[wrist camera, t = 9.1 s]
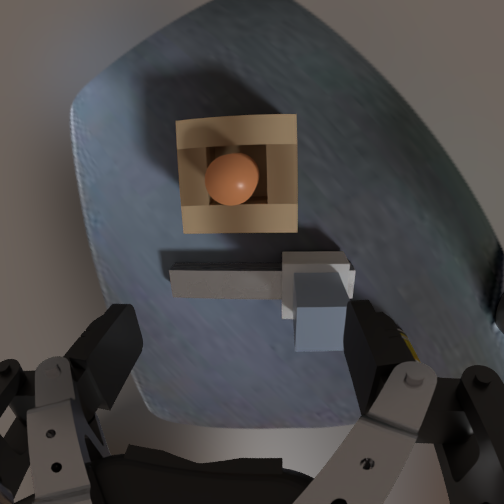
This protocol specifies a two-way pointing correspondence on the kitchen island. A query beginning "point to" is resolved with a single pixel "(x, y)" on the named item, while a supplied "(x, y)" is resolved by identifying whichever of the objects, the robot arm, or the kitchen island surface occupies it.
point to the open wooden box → (267, 159)
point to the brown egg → (232, 178)
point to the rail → (232, 280)
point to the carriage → (315, 298)
